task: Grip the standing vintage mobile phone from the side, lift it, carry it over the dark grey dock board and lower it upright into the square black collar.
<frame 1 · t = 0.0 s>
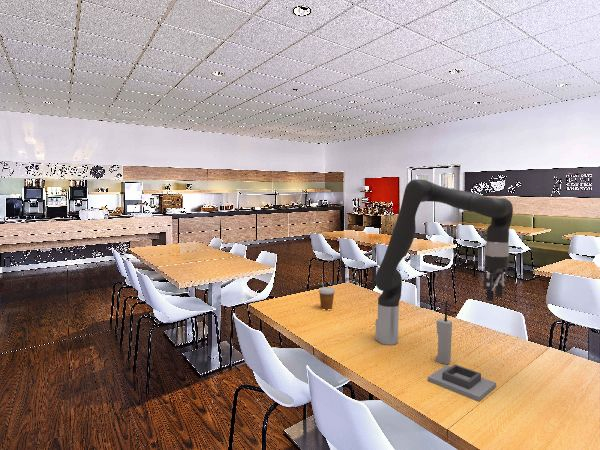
hand: (494, 298, 134), 29 cm above the table, tool pointing down, fingers open, 8 cm apart
disposable coffee cup: (326, 309, 218), on the table
dock board: (461, 383, 131), on the table
vintage mobile phone: (442, 362, 149), on the table
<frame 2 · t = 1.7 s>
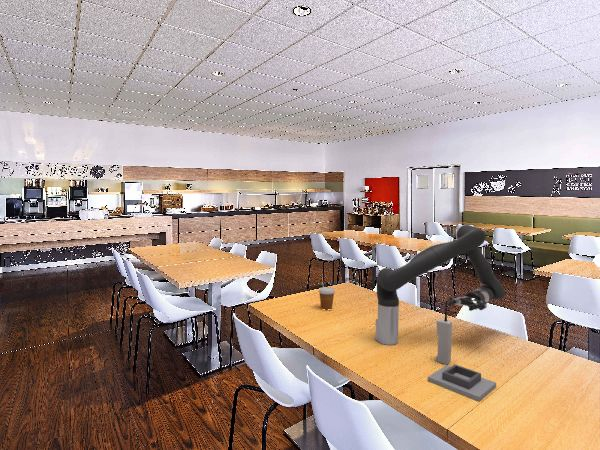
hand: (459, 305, 156), 20 cm above the table, tool horizontal, fingers open, 8 cm apart
nothing on the table moved.
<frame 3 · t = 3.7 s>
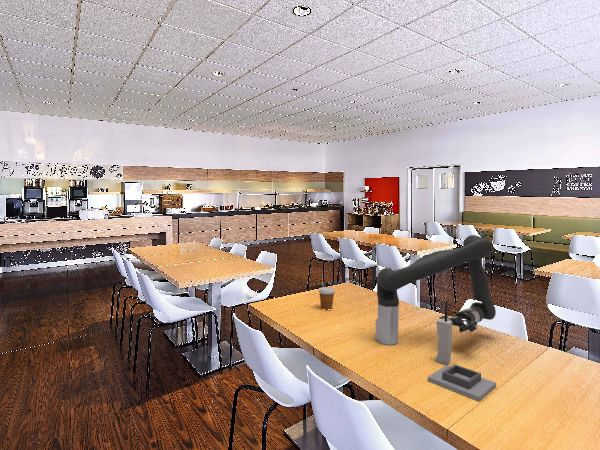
hand: (449, 326, 151), 13 cm above the table, tool horizontal, fingers open, 8 cm apart
nothing on the table moved.
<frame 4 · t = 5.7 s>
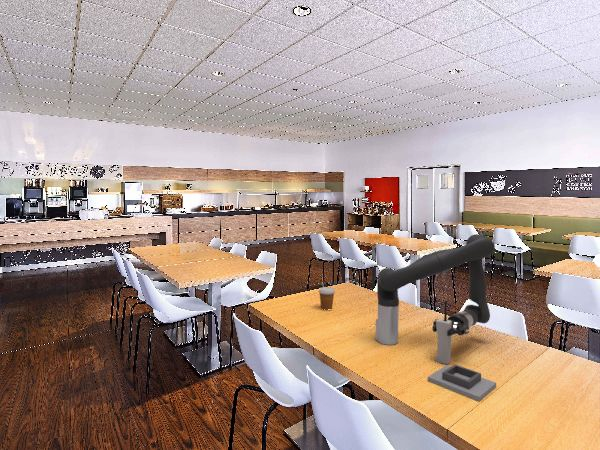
hand: (440, 331, 146), 13 cm above the table, tool horizontal, fingers open, 5 cm apart
vintage mobile phone: (442, 361, 149), on the table, touching gripper
everything else where it was.
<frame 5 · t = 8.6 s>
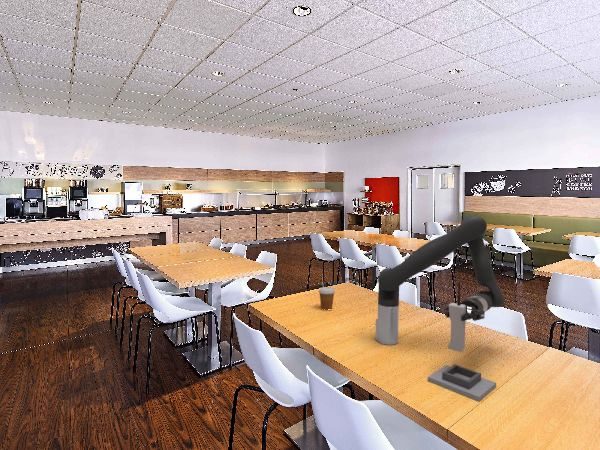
hand: (454, 316, 134), 23 cm above the table, tool horizontal, fingers closed on vintage mobile phone, 5 cm apart
vintage mobile phone: (456, 349, 137), point 10 cm above the table, touching gripper
everything else where it was.
when the fingers open (16 cm above the table, at t = 11.5 s): vintage mobile phone drops 2 cm, resting on dock board.
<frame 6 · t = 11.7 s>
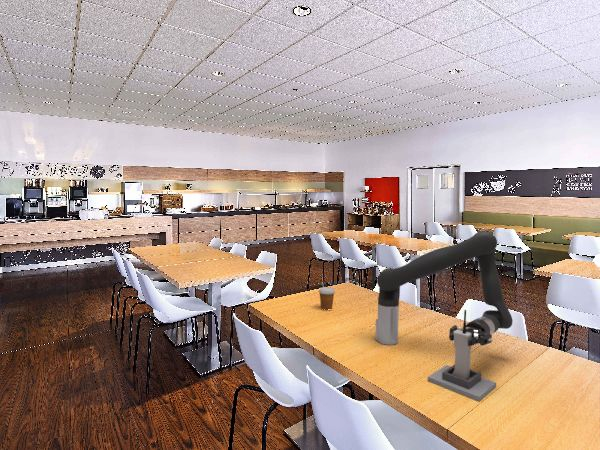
hand: (459, 340, 128), 16 cm above the table, tool horizontal, fingers open, 6 cm apart
vintage mobile phone: (460, 379, 132), point 1 cm above the table, touching dock board, gripper
everything else where it was.
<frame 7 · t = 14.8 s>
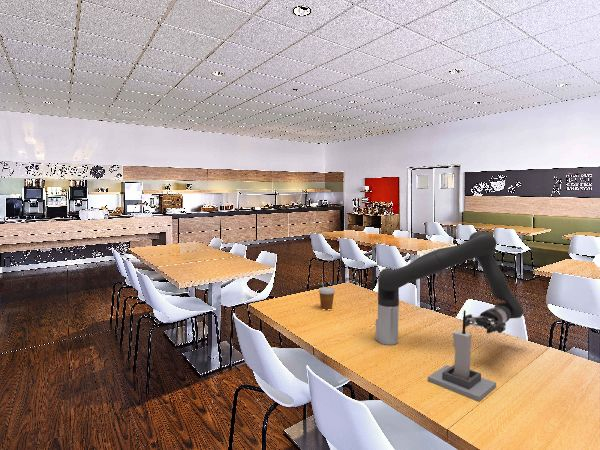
hand: (475, 327, 138), 17 cm above the table, tool horizontal, fingers open, 8 cm apart
vintage mobile phone: (460, 379, 132), point 1 cm above the table, touching dock board
everything else where it was.
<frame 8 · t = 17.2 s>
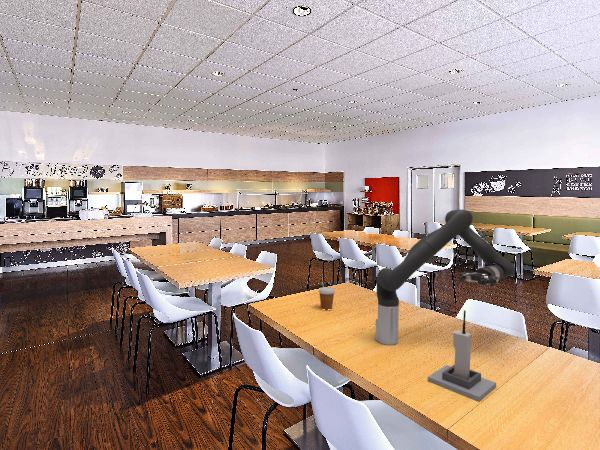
hand: (470, 280, 150), 32 cm above the table, tool horizontal, fingers open, 8 cm apart
nothing on the table moved.
at the end: vintage mobile phone 0.5 cm off-centre on the dock board, point 1.3 cm above the dock board's base; vintage mobile phone tilted 0°; the gripper is holding nothing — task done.
